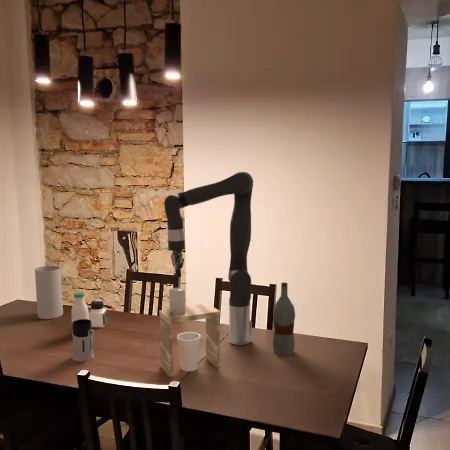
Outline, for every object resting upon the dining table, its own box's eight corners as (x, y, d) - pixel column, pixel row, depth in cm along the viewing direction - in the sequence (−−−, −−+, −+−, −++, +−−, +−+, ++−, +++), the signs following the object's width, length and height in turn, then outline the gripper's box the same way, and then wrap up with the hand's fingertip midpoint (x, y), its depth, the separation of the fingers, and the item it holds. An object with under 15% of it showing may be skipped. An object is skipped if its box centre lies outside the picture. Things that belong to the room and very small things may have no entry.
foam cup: (197, 374, 195) (197, 341, 193) (174, 371, 197) (173, 339, 195) (203, 364, 204) (203, 332, 202) (181, 362, 206) (181, 331, 204)
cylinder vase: (32, 319, 258) (29, 270, 255) (45, 311, 271) (42, 265, 267) (55, 320, 256) (53, 271, 253) (67, 312, 268) (65, 266, 265)
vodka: (267, 352, 215) (268, 283, 211) (280, 346, 222) (281, 279, 217) (286, 358, 209) (287, 287, 205) (298, 352, 216) (300, 283, 211)
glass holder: (87, 351, 217) (86, 317, 215) (105, 360, 207) (103, 325, 205) (68, 356, 211) (66, 322, 209) (85, 367, 201) (84, 330, 199)
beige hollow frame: (208, 357, 210) (208, 303, 207) (220, 367, 200) (219, 311, 197) (160, 366, 201) (159, 310, 198) (170, 377, 191) (169, 319, 188)
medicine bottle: (103, 327, 246) (102, 303, 244) (88, 327, 246) (87, 303, 244) (107, 322, 253) (106, 299, 251) (92, 322, 253) (91, 299, 251)
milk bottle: (93, 333, 237) (91, 292, 234) (80, 339, 231) (78, 296, 228) (81, 330, 241) (79, 289, 239) (68, 335, 235) (66, 293, 232)
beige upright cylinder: (181, 309, 199) (181, 287, 198) (187, 313, 194) (187, 290, 193) (167, 311, 197) (166, 289, 195) (172, 316, 191) (172, 292, 190)
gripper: (189, 240, 223) (190, 278, 225) (179, 236, 235) (181, 273, 237) (172, 241, 220) (174, 281, 222) (163, 237, 232) (166, 275, 234)
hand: (178, 276), depth 230 cm, fingers closed
